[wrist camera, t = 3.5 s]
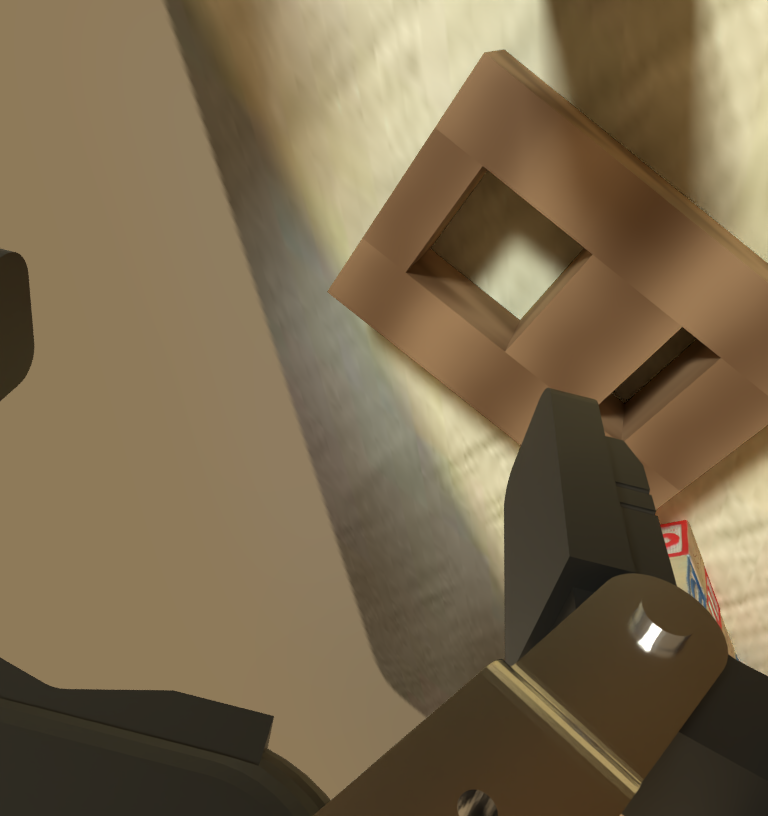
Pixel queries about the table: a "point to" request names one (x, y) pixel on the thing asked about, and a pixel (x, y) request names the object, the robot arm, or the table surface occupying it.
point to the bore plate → (572, 283)
